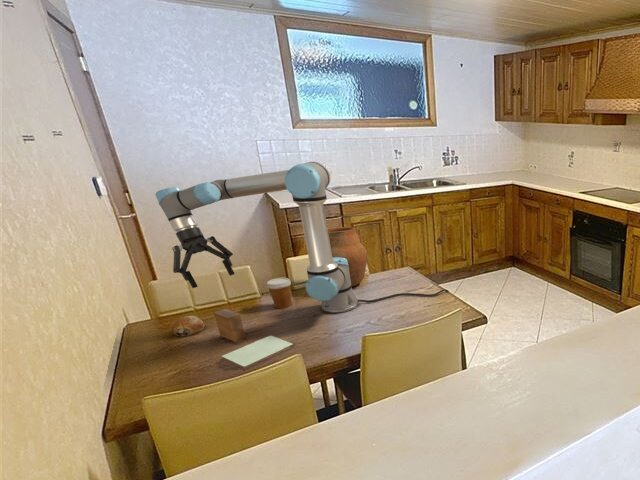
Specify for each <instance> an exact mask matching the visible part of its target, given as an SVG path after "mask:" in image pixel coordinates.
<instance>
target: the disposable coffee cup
mask: <svg viewBox="0 0 640 480" xmlns="http://www.w3.org/2000/svg"><path fill="white" fill-rule="evenodd" d="M291 283H292V281H291V280H290V279H289V278H288V277H276V278H272V279H270V280H268V281H267V283H266V287H267V289H268V291H269V293H270V296H271V299H272V301H273V303H274V304H273V305H274V307H275V308H277V309H285V308H288V307H290V306H291V305H292V295H291V292H292V291H291Z"/></svg>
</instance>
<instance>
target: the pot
mask: <svg viewBox="0 0 640 480" xmlns="http://www.w3.org/2000/svg"><path fill="white" fill-rule="evenodd" d="M328 234H329V240H330V246H331V252H332V257H342V258H346V259H347V261H348V264H349V273H350V280H351V287H355V286H357V285H359V284H360V283H362V282H363V280H364V278H365V274H366V270H367V269H366V268H367V266H368V265H367V264H368V250H367V249H366V247H365V246H364V245H363V244H362V242H361V241H362V240H363V236H362V235H361V234H358V233H357V229H356V227H353V226H339V227H331V228H328Z"/></svg>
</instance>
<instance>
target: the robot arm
mask: <svg viewBox="0 0 640 480" xmlns="http://www.w3.org/2000/svg"><path fill="white" fill-rule="evenodd" d="M330 173H331V172H330V170H329V169H328V168H327V167H326V165H324V164H322V163H320V162H318V161H307V162H303V163H298V164H296V165H293V166H292V167H290V169H285V170H279V171H271V172H266V173H258V174H252V175H246V176H239V177H232V178H227V179H215V180H213V181H210V182H208V181H206V182H201V183H198V184H196V185H193V186H190V187H188V188H184V189H183V190H181V189H179V187H175V186H173V187H172V186H171V187H166V188H162V189H159V190H157V191H156V192H155V194H154V195H155V198H156V200H157V202H158V205H159V206H160V208H161V210H162V211H163V213H164V214H165V216H166V218H167V221H168V222H169V224H170V226H171V228H172V229H173V232H176V233H175V236H176V237H177V239H178V241H179V243H180V244H179V245H177V244H176V245H174V246H172V249H171V250H172V251H173V264H172V265H173V267H172V272H173V273H174V274H181V276H182V277H183V280H184V281H186V282H187V281H188V282H189V284H190V286H191V288H192V289H195V288H198V287H199V286H198V284H197V282H196V280H195V278H194V276H193V275H192V273H191V271H190V270H188V267H189V264H190V261H191V258H192V256H193V255H196V254H198V253H202V252H204V251H205V252H208V253H210V254H212V255H214V256H216V257H218V258H220V259H222V260H221V262H222V264H223V265H224V268H225V269H226V272H227V273H228V275H229V276H230V277H231V276H233V275H236V274H235V272H234V269H233V268H232V267H233V263H232V260H231V259H230V258H231V257H232V256H233V255H234V253H233V252H232V251H231V250H229V249H228V248H227V247H225V246H224V245H223V244H221V243H220V242H219V241H218V240H217V239H216V238H215V236H214V235H211V236H210V237H207V238H206V237H204V234H203V232H202V230H201V228H200V227H199V226H198V223H197V221H196V219H195V217H194V215H193V213H192V211H193V210H196V209H199V208H201V207H205V206H208V205H213V204H214V203H217V202H220V201H224V200H229V199H235V198H241V197H249V196H255V195H262V194H268V193H274V192H275V193H276V192H282V191H288V192H289V193H290V194H291V196H292V201H293V203H295V204H296V205H297V206H298V210H299V214H300V219H301V225H302V230H303V235H304V240H305V246H306V251H307V256H308V261H309V264H308V266H307V267H306V274H307V281H306V283H305V290H306V293H307V294H308V296H309V297H311V298H312V299H314V300H316V301H319V302H320V301H321V310H322V311H323V312H324V313H327V314H341V313H347V312H350V311H353V310H354V309H356V308H357V307H358V306H359V303H374V302H379V301H382V300H385V299H390V298H394V297H398V296H421V297H435V296H437V295H439V294H441V293H443V292H447V293H449V292H450V290H448V289H445V288H444V289H441V290H439V291H437V292H436V293H435V292H434V293H430V294H427V293H416V292H415V293H413V292H402V293H401V292H400V293H395V294H391V295H387V296H382V297H379V298H375V299H370V300H369V299H368V300H367V299H358V297H357V295H356V294H355V292H354V290H353V288H352V287H353V286H351V280H350V273H349V264H348V261H347V259H346V258H342V257H332V252H331V246H330V240H329V234H328V229H329V228H328V223H327V218H326V213H325V212H326V211H325V206H324V203H325V202H326V201H327V199H328V198H327V191H326V189H327V188H328V186H329V185H330V183H331V174H330ZM208 243H209V244H211V245H212V246H213V247H212V246H210V245H208ZM214 247H215V248H214ZM183 250H184V251H185V253H184V257H183V260H182V263H181V256H182V255H181V254H182V251H183ZM444 290H445V291H444Z"/></svg>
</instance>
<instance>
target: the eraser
mask: <svg viewBox="0 0 640 480" xmlns="http://www.w3.org/2000/svg"><path fill="white" fill-rule="evenodd" d="M213 315H214V318H215V322H216V325H217V329H218V332H219V336H220V337H223V338H226V339H228V340H231V341H232V342H237V341H240V340H242V339H245V338H246V333H245V329H244V326H243V321H242V318H241V314H240V313H237V312H235V311H233V310H229V309H227V308H223V309H220V310H216V311H214V312H213Z"/></svg>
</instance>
